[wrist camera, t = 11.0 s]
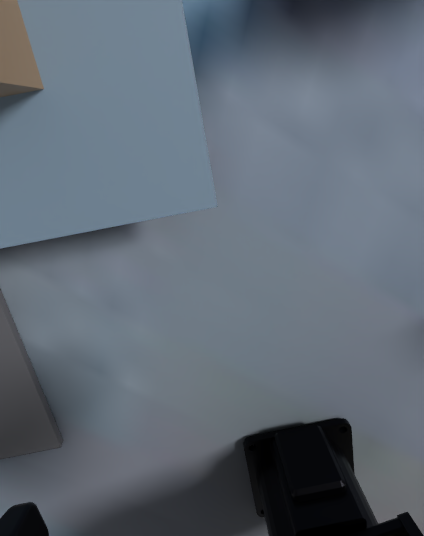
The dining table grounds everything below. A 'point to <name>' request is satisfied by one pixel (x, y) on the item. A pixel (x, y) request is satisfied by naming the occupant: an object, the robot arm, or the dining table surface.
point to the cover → (97, 117)
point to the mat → (21, 397)
